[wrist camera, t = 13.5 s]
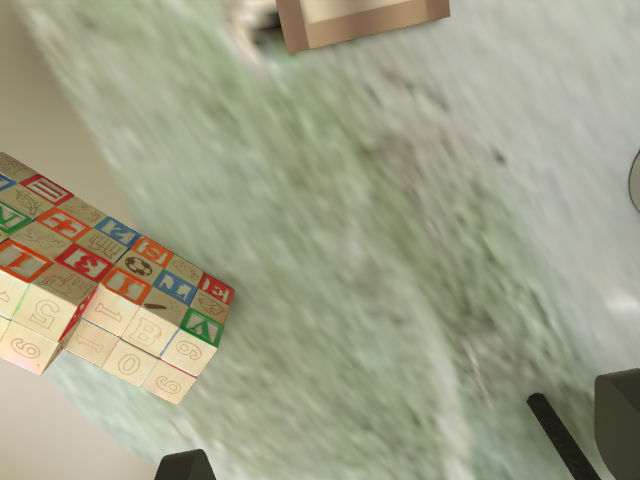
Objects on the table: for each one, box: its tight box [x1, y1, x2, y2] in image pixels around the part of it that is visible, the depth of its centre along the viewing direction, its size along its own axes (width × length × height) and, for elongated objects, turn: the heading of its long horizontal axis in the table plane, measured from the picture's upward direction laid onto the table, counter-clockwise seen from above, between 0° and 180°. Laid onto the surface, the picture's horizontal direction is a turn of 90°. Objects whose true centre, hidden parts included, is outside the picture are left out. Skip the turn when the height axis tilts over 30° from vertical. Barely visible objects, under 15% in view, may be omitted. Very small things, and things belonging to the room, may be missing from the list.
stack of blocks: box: [0, 152, 234, 405], centre depth 35 cm, size 21×6×12 cm, turn 55°
